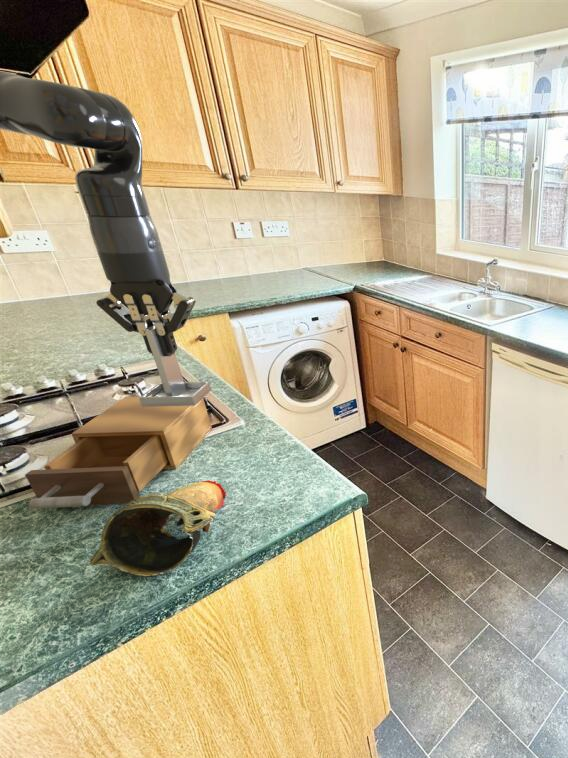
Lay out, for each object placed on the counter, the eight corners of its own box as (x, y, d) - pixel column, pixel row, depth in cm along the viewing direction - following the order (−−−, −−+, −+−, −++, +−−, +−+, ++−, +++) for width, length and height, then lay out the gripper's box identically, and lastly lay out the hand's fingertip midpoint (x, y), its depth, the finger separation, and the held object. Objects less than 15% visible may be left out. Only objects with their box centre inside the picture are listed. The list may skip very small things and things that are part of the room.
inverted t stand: (142, 406, 70) (114, 332, 65) (162, 391, 76) (139, 320, 70) (194, 405, 72) (172, 332, 66) (211, 390, 77) (192, 321, 71)
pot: (248, 449, 73) (181, 487, 55) (274, 507, 74) (218, 561, 57) (147, 484, 71) (45, 535, 53) (176, 542, 73) (87, 610, 55)
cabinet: (176, 468, 81) (163, 430, 77) (88, 472, 78) (70, 433, 74) (212, 429, 94) (202, 395, 90) (138, 431, 91) (125, 396, 87)
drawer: (116, 523, 66) (101, 489, 63) (16, 530, 64) (-5, 495, 61) (179, 456, 83) (169, 427, 80) (101, 459, 80) (88, 429, 77)
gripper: (193, 245, 67) (219, 347, 75) (96, 242, 65) (133, 347, 72) (166, 252, 61) (197, 363, 68) (57, 249, 58) (102, 363, 66)
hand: (164, 354), depth 70 cm, fingers closed on inverted t stand, 1 cm apart
